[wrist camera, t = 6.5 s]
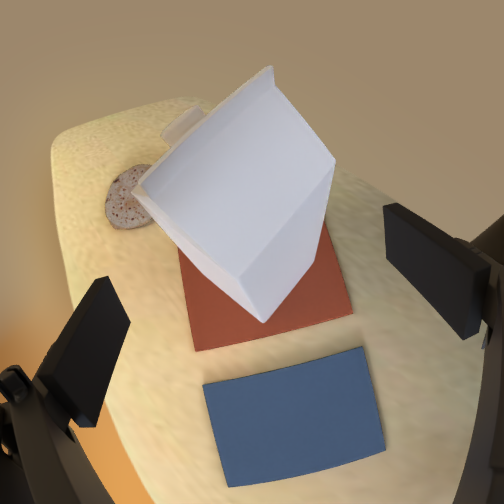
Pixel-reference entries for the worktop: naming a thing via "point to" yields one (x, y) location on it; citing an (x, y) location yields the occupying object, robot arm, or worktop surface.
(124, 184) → the flatbread
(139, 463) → the worktop surface
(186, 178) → the milk carton
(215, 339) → the terracotta mat
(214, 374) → the worktop surface
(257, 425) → the slate-blue mat
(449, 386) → the worktop surface
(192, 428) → the worktop surface
